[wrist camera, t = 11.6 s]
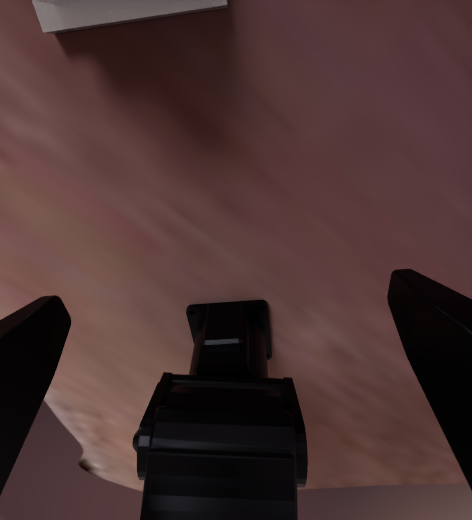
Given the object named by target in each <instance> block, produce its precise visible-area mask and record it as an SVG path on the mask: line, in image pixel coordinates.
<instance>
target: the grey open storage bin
mask: <svg viewBox="0 0 472 520" xmlns="http://www.w3.org/2000/svg"><path fill="white" fill-rule="evenodd" d="M32 2H33V5H34V7H35V10H36V13H37V16H38V19H39V21H40V24H41V27H42V30H43V33H52V34H56V33H62V32H69V31H76V30H82V29H89V28H96V27H102V26H109V25H116V24H122V23H129V22H136V21H142V20H149V19H155V18H162V17H169V16H175V15H182V14H189V13H195V12H202V11H209V10H215V9H222V8H228V2H227V0H32Z"/></svg>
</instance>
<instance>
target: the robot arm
mask: <svg viewBox="0 0 472 520" xmlns="http://www.w3.org/2000/svg"><path fill="white" fill-rule="evenodd" d="M387 299H388V304H389V307H390V310H391V313H392V316H393V319H394V322H395V325H396V328H397V331H398V333H399V336H400V339H401V342H402V345H403V348H404V350H405V353H406V356H407V358H408V360H409V362H410V365H411V367H412V369H413V371H414V373H415V375H416V377H417V379H418V381H419V383H420V385H421V387H422V389H423V391H424V393H425V395H426V397H427V400H428V402H429V404H430V406H431V408H432V410H433V412H434V414H435V416H436V418H437V420H438V422H439V424H440V426H441V428H442V430H443V432H444V435H445V437H446V439H447V441H448V443H449V445H450V447H451V449H452V451H453V453H454V455H455V457H456V459H457V461H458V463H459V465H460V467H461V470H462V472H463V474H464V476H465V478H466V480H467V482H468V484H469V486H470V488H471V490H472V299H470V298H468V297H466V296H464V295H462V294H460V293H458V292H456V291H454V290H452V289H450V288H448V287H446V286H444V285H442V284H440V283H438V282H436V281H434V280H432V279H430V278H428V277H426V276H424V275H422V274H420V273H418V272H416V271H414V270H412V269H398V270H394V271H393V272H392V274H391V278H390V284H389V290H388V296H387ZM261 305H262V306H263V307H259V306H261ZM191 310H194V311H195V312H192V311H191ZM186 314H187V318H188V322H189V326H190V329H191V333H192V337H193V341H194V350H193V355H192V361H191V366H190V372H189V375H180V374H172V373H167V372H164V373H163V375H162V378H161V380H160V382H158V384H157V386H156V389H155V391H154V393H153V395H152V398H151V400H150V402H149V405H148V407H147V409H146V412H145V414H144V416H143V419H142V421H141V423H140V427H139V429H138V431H137V432H136V433H135V435H134V438H133V447H134V449H135V451H136V452H137V474H138V478H139V480H144V489H143V499H142V507H141V516H140V520H297V519H298V518H297V487H305V485H306V480H307V467H308V457H307V440H306V432H305V425H304V421H303V417H302V413H301V409H300V406H299V402H298V398H297V394H296V391H295V387H294V383H293V379H292V378H286V377H284V379H276V378H268V369H267V360H269V359H271V357H272V351H271V338H270V326H269V314H268V304H267V302H266V301H265V300H250V301H236V302H222V303H208V304H194V305H189V306H188V307H187V310H186ZM70 326H71V318H70V315H69V313H68V311H67V309H66V307H65V306H64V304H63V302H62V300H61V298H60V297H58V296H56V295H54V296H43V297H40V298H38V299H37V300H35V301H33V302H31V303H30V304H28V305H26V306H24V307H23V308H21V309H19V310H17V311H16V312H14V313H12V314H10V315H8V316H7V317H5V318H3V319H1V320H0V495H1V493H2V491H3V488H4V486H5V484H6V482H7V479H8V477H9V475H10V473H11V470H12V468H13V466H14V464H15V462H16V459H17V457H18V455H19V453H20V450H21V448H22V446H23V444H24V441H25V439H26V437H27V435H28V433H29V430H30V428H31V425H32V424H33V422H34V419H35V417H36V415H37V413H38V410H39V408H40V406H41V404H42V401H43V399H44V397H45V395H46V393H47V390H48V388H49V386H50V384H51V381H52V379H53V377H54V374H55V371H56V369H57V366H58V363H59V360H60V357H61V354H62V351H63V348H64V345H65V342H66V339H67V336H68V333H69V330H70Z"/></svg>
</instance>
